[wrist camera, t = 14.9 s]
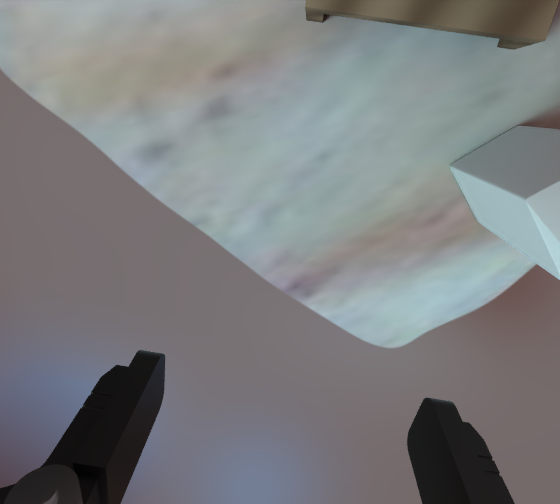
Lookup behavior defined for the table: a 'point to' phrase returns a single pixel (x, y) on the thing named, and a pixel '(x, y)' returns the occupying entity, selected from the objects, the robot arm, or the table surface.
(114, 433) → the robot arm
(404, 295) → the table surface
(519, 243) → the milk carton
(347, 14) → the shelf
